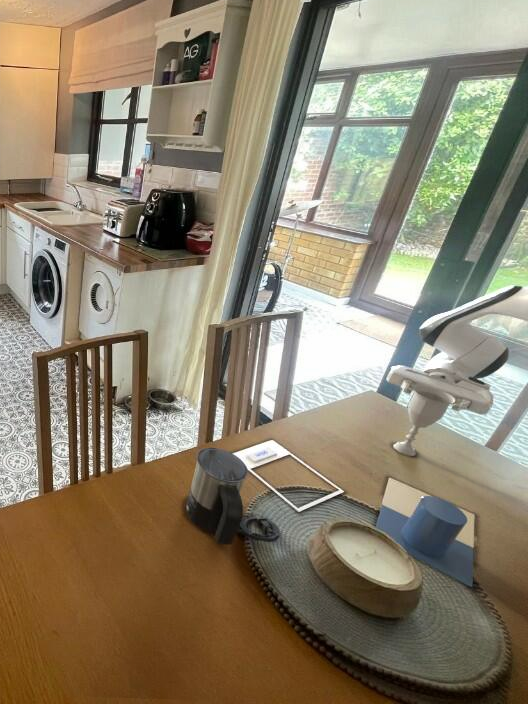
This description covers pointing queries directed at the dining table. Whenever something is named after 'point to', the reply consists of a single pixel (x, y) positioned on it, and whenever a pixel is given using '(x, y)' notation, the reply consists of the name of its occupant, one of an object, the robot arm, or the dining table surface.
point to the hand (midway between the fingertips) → (431, 399)
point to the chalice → (424, 413)
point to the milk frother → (223, 498)
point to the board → (392, 523)
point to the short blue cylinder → (433, 526)
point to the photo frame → (272, 452)
